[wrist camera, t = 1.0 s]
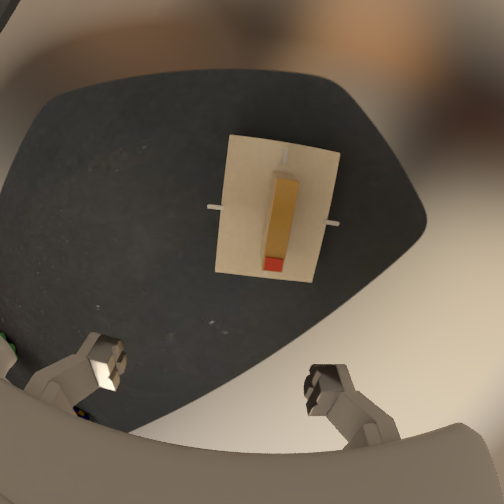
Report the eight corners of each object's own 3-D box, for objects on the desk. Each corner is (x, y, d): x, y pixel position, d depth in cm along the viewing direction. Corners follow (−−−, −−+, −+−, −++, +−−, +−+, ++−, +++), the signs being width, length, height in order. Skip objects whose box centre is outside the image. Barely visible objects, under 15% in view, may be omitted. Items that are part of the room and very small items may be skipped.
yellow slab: (272, 171, 21) (276, 178, 18) (292, 174, 21) (300, 181, 18) (259, 251, 24) (261, 272, 20) (277, 254, 24) (282, 274, 21)
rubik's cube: (91, 413, 43) (85, 429, 38) (85, 421, 44) (79, 436, 39) (75, 403, 42) (68, 419, 37) (71, 412, 43) (64, 427, 38)
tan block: (220, 133, 23) (215, 133, 20) (339, 153, 24) (353, 156, 20) (207, 254, 28) (202, 271, 24) (315, 267, 29) (323, 284, 25)
